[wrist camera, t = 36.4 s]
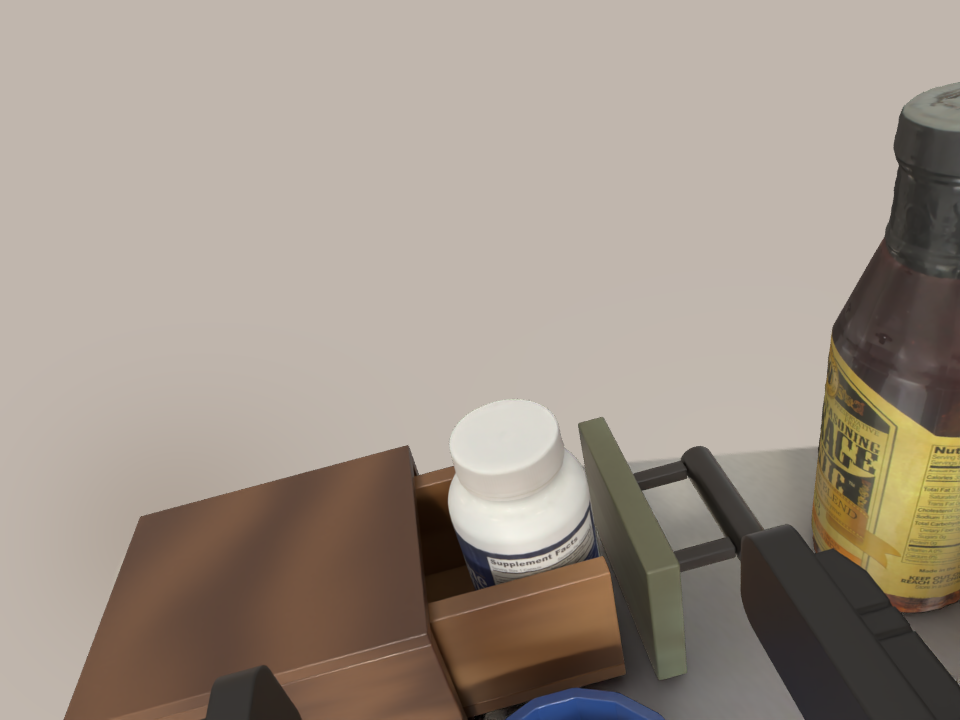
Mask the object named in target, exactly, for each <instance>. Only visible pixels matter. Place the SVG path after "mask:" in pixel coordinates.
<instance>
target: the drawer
mask: <svg viewBox="0 0 960 720" xmlns="http://www.w3.org/2000/svg"><path fill="white" fill-rule="evenodd" d="M578 428H579V433H580V440H581V446H582V452H583V458H584V464H585V470H586V476H587V482H588V486H589V492H590V499H591V505H592V512H593V518H594V524H595V526H596V529H597V531H598V534H599V536H600V539H601V541H602V544H603V546H604V548H605V551H606V553H607V556H608V558H609V561H610V563H611V566H612V568H613V571H614V573H615V575H616V578H617V580H618V583H619V585H620V588H621V590H622V593H623V595H624V597H625V600H626V602H627V605H628V607H629V610H630V612H631V615H632V617H633V620H634V622H635V624H636V627H637V629H638V632H639V634H640V637H641V639H642V642H643V644H644V646H645V649H646V651H647V654H648V656H649V659H650V661H651V664H652V666H653V669H654V671H655V673H656V676H657V678H658V680H664V679H667V678H671V677H674V676H678V675H682V674H685V673H687V663H686V648H685V634H684V619H683V605H682V590H681V576H680V572H683V571H687V570H691V569H694V568H698V567H702V566H705V565H709V564H713V563H716V562H720V561H724V560H727V559H731V558H734V557H735V556H736V555H737V557H738V558H739V560H740V561H741V539H742V537H743V536H744V535H748V534H752V533H755V532H759V531H763V530H764V529H763V527H762V526H761V524H760V523H759V521H758V520H757V518H756V517H755V516H754V514H753V513H752V511H751V510H750V508H749V507H748V505H747V504H746V503H745V501H744V500H743V498H742V497H741V495H740V494H739V492H738V491H737V490H736V488H735V487H734V485H733V484H732V482H731V481H730V480H729V478H728V477H727V475H726V474H725V472H724V471H723V469H722V468H721V467H720V465H719V464H718V462H717V461H716V459H715V458H714V456H713V455H712V454H711V452H710V451H709V449H707V448H706V447H703V446H696V447H693V448H691V449H689V450H687V451H686V452H685V453H684V454H683V456H682V457H681V461H678V462H675V463H671V464H667V465H664V466H660V467H656V468H652V469H649V470H645V471H641V472H638V473H634V474H633V473H632V471H631V469H630V467H629V465H628V464H627V462H626V460H625V458H624V456H623V454H622V452H621V450H620V448H619V446H618V444H617V442H616V440H615V438H614V437H613V435H612V433H611V431H610V429H609V427H608V425H607V423H606V421H605V419H604V418H603V417H600V418H597V419H592V420H589V421H585V422H581V423H579V424H578ZM455 473H456V472H455V468H454V466H452V467H448V468H444V469H440V470H437V471H433V472H429V473H425V474H422V475H418V476H414V480H415V489H416V499H417V508H418V517H419V527H420V536H421V545H422V555H423V564H424V574H425V583H426V592H427V602H428V611H429V620H430V630H431V632H432V634H433V637H434V639H435V642H436V644H437V646H438V649H439V651H440V654H441V656H442V658H443V661H444V663H445V666H446V668H447V671H448V673H449V675H450V678H451V680H452V683H453V685H454V687H455V690H456V692H457V695H458V697H459V700H460V702H461V704H462V707H463V709H464V712H465V714H466V717H467V718H469V717H472V716H476V715H480V714H483V713H487V712H491V711H494V710H498V709H502V708H505V707H509V706H512V705H516V704H520V703H523V702H527V701H530V700H532V699H534V698H537V697H541V696H544V695H548V694H552V693H555V692H559V691H563V690H566V689H570V688H575V687H576V688H578V687H582V686H585V685H589V684H592V683H596V682H600V681H603V680H607V679H611V678H614V677H618V676H622V675H625V674H626V669H625V663H624V656H623V650H622V644H621V637H620V631H619V624H618V618H617V612H616V605H615V599H614V593H613V586H612V580H611V574H610V570H609V568H608V565H607V563H606V560H605V558H604V557H603V556H601V557H597V558H593V559H590V560H586V561H582V562H578V563H575V564H571V565H567V566H564V567H560V568H556V569H553V570H549V571H545V572H542V573H538V574H534V575H531V576H527V577H523V578H520V579H516V580H512V581H509V582H505V583H501V584H497V585H494V586H490V587H486V588H483V589H479V590H475V588H474V586H473V583H472V580H471V577H470V573H469V571H468V568H467V564H466V562H465V559H464V556H463V553H462V550H461V547H460V544H459V541H458V539H457V535H456V532H455V530H454V527H453V524H452V520H451V516H450V513H449V507H448V494H449V488H450V485H451V482H452V479H453V477H454V475H455ZM687 476H688V478H689V479H690V481H691V482H692V484H693V486H694V487H695V489H696V490H697V492H698V494H699V495H700V497H701V499H702V500H703V502H704V503H705V505H706V507H707V508H708V510H709V511H710V513H711V515H712V516H713V518H714V520H715V521H716V523H717V524H718V526H719V528H720V529H721V531H722V532H723V534H724V536H725V537H726V538H722V539H718V540H715V541H711V542H707V543H704V544H700V545H696V546H693V547H689V548H685V549H682V550H678V551H674V552H673V550H672V548H671V546H670V544H669V543H668V541H667V539H666V537H665V535H664V533H663V531H662V529H661V527H660V525H659V523H658V521H657V519H656V518H655V516H654V514H653V512H652V510H651V508H650V506H649V504H648V502H647V500H646V498H645V496H644V494H643V492H642V491H643V490H647V489H650V488H654V487H658V486H661V485H665V484H669V483H672V482H676V481H680V480H684V479H687Z"/></svg>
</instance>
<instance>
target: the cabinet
mask: <svg viewBox="0 0 960 720" xmlns="http://www.w3.org/2000/svg"><path fill="white" fill-rule="evenodd" d="M418 475H419V473H418V470H417V468H416V465H415V462H414V459H413V457H412V454H411V451H410V448H409V446H408V445H407V446H403V447H399V448H395V449H391V450H388V451H384V452H380V453H377V454H373V455H369V456H365V457H362V458H358V459H355V460H351V461H347V462H343V463H339V464H335V465H332V466H328V467H324V468H321V469H317V470H313V471H309V472H305V473H302V474H298V475H294V476H290V477H287V478H283V479H279V480H276V481H272V482H268V483H264V484H260V485H257V486H253V487H249V488H246V489H242V490H238V491H234V492H231V493H227V494H223V495H219V496H216V497H212V498H208V499H204V500H201V501H197V502H193V503H189V504H186V505H182V506H179V507H174V508H171V509H167V510H163V511H159V512H156V513H152V514H149V515H145V516H141V517H140V519H139V521H138V524H137V527H136V529H135V532H134V534H133V537H132V540H131V543H130V545H129V548H128V550H127V553H126V556H125V558H124V561H123V564H122V566H121V569H120V572H119V574H118V577H117V580H116V582H115V585H114V587H113V590H112V593H111V595H110V598H109V601H108V603H107V606H106V609H105V611H104V614H103V617H102V619H101V622H100V625H99V627H98V630H97V633H96V635H95V638H94V641H93V643H92V646H91V648H90V652H89V654H88V656H87V659H86V662H85V664H84V667H83V670H82V672H81V675H80V678H79V680H78V683H77V686H76V688H75V691H74V694H73V696H72V699H71V701H70V704H69V707H68V710H67V712H66V715H65V717H64V720H200V719H204V718H206V713H207V708H208V703H209V698H210V693H211V689H212V686H213V684H214V682H215V680H216V679H217V678H219V677H221V676H224V675H228V674H232V673H235V672H239V671H243V670H246V669H250V668H254V667H257V666H261V665H266V666H267V667H268V668H269V669H270V670H271V672H272V673H273V674H274V676H275V677H276V679H277V680H278V682H279V683H280V685H281V686H282V688H283V689H284V691H285V692H286V694H287V695H288V697H289V698H290V700H291V701H292V702H293V704H294V705H295V707H296V708H297V710H298V712H299V714H300V716H301V719H302V720H474V716H472V717H469V718H467V717H466V714H465V712H464V709H463V707H462V704H461V702H460V700H459V697H458V695H457V692H456V690H455V687H454V685H453V683H452V680H451V678H450V675H449V673H448V671H447V668H446V666H445V663H444V661H443V658H442V656H441V654H440V651H439V649H438V646H437V644H436V642H435V639H434V637H433V634H432V632H431V630H430V620H429V611H428V602H427V592H426V583H425V574H424V564H423V555H422V545H421V536H420V527H419V517H418V508H417V499H416V489H415V480H414V476H418Z"/></svg>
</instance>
